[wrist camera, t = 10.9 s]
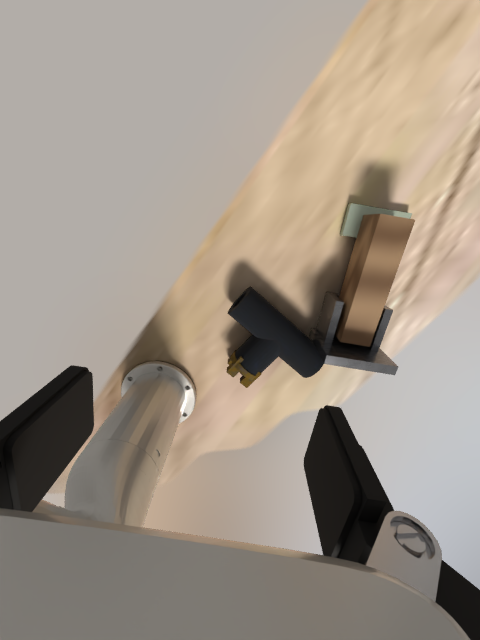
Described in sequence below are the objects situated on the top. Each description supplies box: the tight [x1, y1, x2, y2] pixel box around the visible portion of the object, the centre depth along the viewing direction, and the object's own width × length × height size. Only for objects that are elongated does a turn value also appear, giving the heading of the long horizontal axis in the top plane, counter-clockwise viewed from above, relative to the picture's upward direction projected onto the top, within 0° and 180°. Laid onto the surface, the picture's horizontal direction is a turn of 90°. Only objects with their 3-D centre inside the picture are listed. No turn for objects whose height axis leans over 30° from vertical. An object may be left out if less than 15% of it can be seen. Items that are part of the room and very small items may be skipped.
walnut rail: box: [335, 214, 415, 347], centre depth 36 cm, size 16×4×5 cm, turn 171°
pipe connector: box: [227, 287, 324, 388], centre depth 41 cm, size 12×5×15 cm
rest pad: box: [340, 203, 412, 238], centre depth 36 cm, size 4×8×1 cm, turn 81°
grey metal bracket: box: [309, 292, 398, 375], centre depth 37 cm, size 7×9×9 cm
